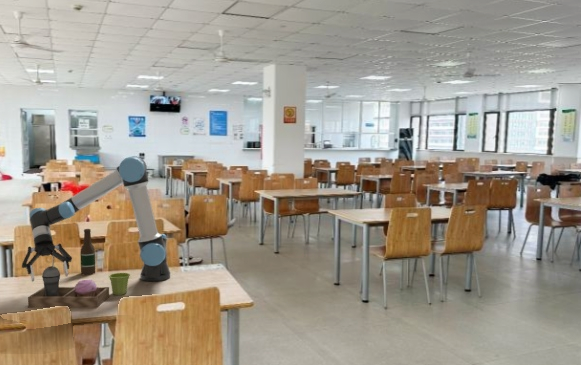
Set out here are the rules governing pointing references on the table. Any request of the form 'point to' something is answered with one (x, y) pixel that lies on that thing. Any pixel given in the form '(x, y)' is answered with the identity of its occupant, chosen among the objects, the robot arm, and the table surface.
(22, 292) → the table surface
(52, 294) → the beverage cup
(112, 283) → the plant pot
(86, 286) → the cupcake
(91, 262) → the beer bottle
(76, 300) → the tray
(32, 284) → the table surface
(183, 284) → the table surface
